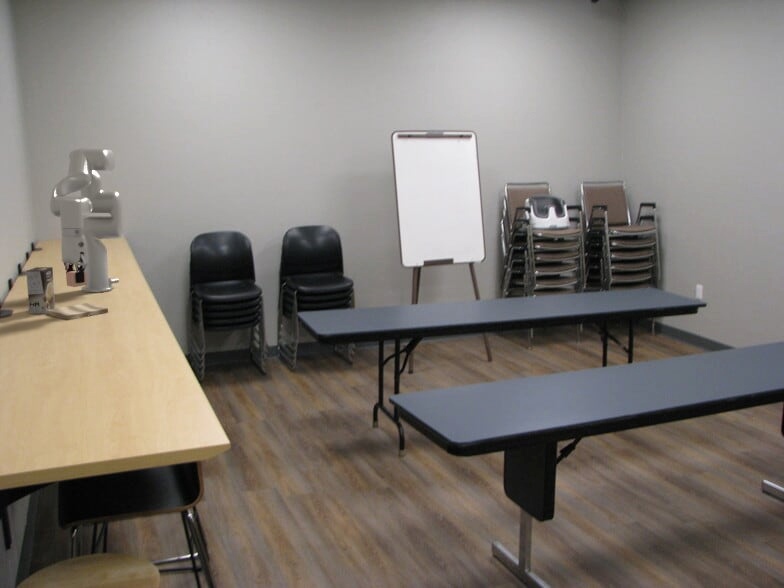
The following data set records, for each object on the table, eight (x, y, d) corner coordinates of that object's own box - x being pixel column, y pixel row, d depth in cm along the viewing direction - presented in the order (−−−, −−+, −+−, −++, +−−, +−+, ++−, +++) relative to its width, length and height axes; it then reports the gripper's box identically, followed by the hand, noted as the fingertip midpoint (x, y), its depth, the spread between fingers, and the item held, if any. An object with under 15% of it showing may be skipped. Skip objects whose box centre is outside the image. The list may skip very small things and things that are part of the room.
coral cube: (79, 283, 276) (78, 270, 275) (87, 284, 273) (86, 271, 272) (67, 285, 272) (65, 272, 271) (74, 287, 269) (73, 273, 268)
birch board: (86, 306, 285) (86, 303, 284) (108, 312, 277) (107, 308, 277) (47, 314, 272) (46, 310, 272) (68, 319, 264) (68, 315, 264)
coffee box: (46, 313, 272) (43, 271, 269) (28, 313, 272) (25, 270, 268) (55, 308, 281) (52, 266, 278) (38, 308, 281) (35, 266, 277)
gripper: (95, 233, 267) (98, 283, 270) (68, 230, 276) (71, 277, 280) (76, 235, 260) (79, 285, 264) (49, 231, 270) (53, 280, 273)
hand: (75, 281), depth 272 cm, fingers closed on coral cube, 5 cm apart
